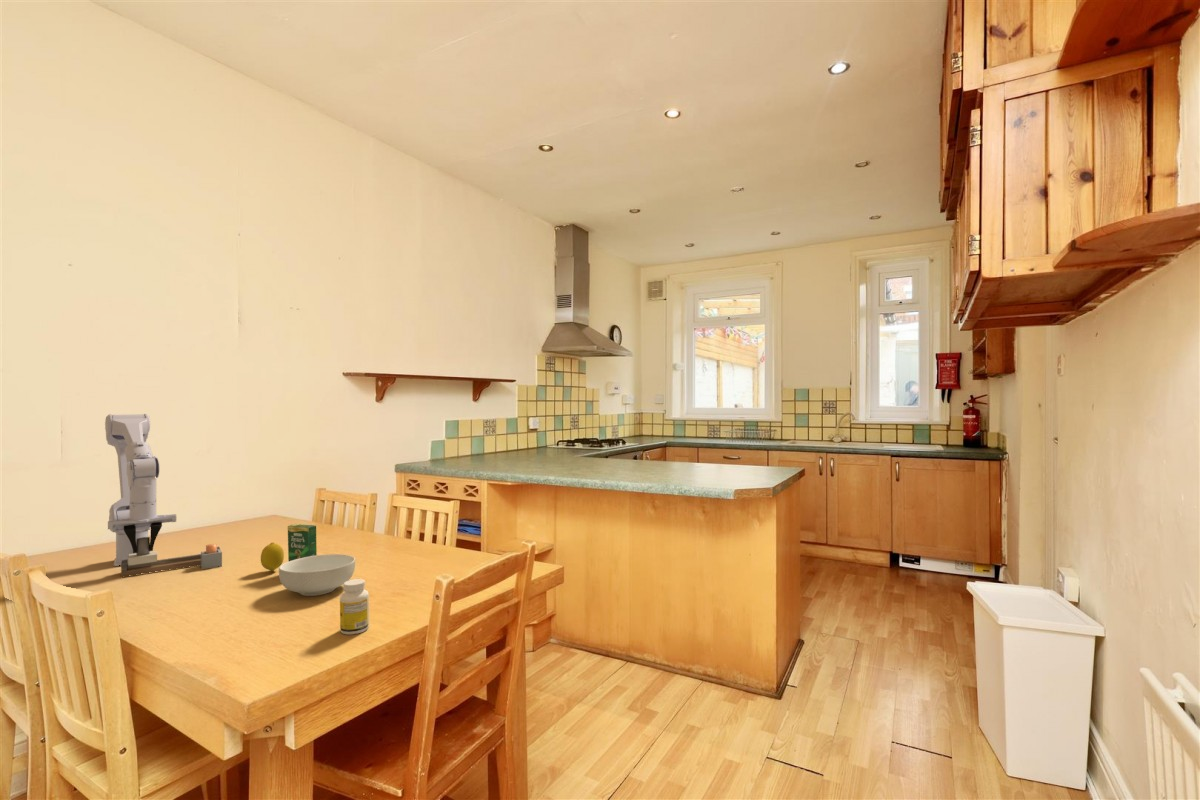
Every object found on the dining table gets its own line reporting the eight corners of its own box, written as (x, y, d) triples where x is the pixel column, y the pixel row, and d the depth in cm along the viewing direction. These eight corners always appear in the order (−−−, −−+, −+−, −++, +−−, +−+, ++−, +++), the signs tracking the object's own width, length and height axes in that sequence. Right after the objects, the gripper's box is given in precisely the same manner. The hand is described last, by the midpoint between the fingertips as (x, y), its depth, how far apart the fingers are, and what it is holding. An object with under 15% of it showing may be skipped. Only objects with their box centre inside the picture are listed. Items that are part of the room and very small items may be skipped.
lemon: (273, 575, 148) (273, 545, 148) (255, 574, 150) (255, 544, 150) (288, 569, 154) (288, 540, 154) (271, 568, 155) (271, 539, 155)
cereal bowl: (370, 583, 141) (370, 556, 141) (317, 606, 126) (317, 575, 126) (318, 577, 147) (318, 550, 147) (262, 598, 131) (262, 568, 131)
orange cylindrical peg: (205, 557, 157) (205, 544, 157) (216, 555, 159) (216, 543, 159) (206, 559, 155) (206, 546, 155) (217, 557, 157) (217, 545, 157)
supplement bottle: (345, 625, 115) (345, 578, 115) (372, 624, 115) (372, 577, 115) (335, 636, 109) (335, 586, 109) (363, 634, 110) (363, 585, 110)
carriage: (129, 561, 152) (129, 538, 152) (156, 557, 156) (156, 535, 156) (128, 565, 148) (128, 541, 148) (157, 561, 152) (157, 538, 152)
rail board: (121, 572, 151) (121, 559, 151) (218, 557, 165) (218, 546, 165) (121, 577, 147) (121, 564, 147) (220, 562, 161) (220, 550, 161)
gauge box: (200, 565, 157) (200, 551, 157) (220, 562, 160) (220, 549, 160) (202, 569, 154) (202, 555, 154) (221, 566, 157) (221, 552, 157)
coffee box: (286, 573, 150) (286, 525, 150) (296, 570, 153) (296, 522, 153) (308, 576, 147) (308, 527, 147) (317, 573, 150) (317, 525, 150)
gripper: (107, 507, 144) (107, 559, 144) (176, 500, 154) (176, 549, 153) (108, 503, 150) (108, 553, 150) (175, 497, 159) (175, 544, 159)
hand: (143, 551), depth 152 cm, fingers closed on carriage, 3 cm apart
